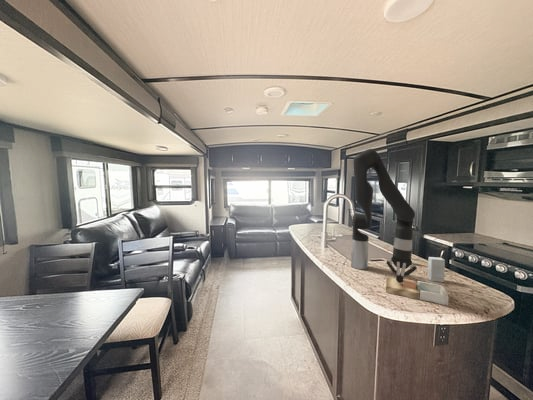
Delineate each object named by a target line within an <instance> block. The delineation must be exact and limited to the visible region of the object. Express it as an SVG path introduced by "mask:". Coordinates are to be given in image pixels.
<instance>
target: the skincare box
mask: <svg viewBox="0 0 533 400" xmlns="http://www.w3.org/2000/svg"><path fill="white" fill-rule="evenodd" d="M427 263H428V264H427V265H428V266H427V279H429V280H430V281H431V282H439V283H444V282H445V271H446V269H445V268H446V265H445V264H446V260H445V259H444V258H442V257H439V256H437V257H435V256H428V262H427Z"/></svg>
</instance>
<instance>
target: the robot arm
mask: <svg viewBox="0 0 533 400" xmlns="http://www.w3.org/2000/svg"><path fill="white" fill-rule="evenodd" d="M370 169H373V170H374V172H375V173H376V175H377V181H378V187H379V191H380V194H381V195H382V197H383V198H384V199H385V201H386V202H387V204H388V205H390V207H391V209H392V210H393V212H394V214H395V216H396V227H395V230H394V231H395V233H394V240H393V249H392V250H393V251H392V257H391V259H389V260H386V261H385V263H386V265H387V266H388V267H389V269H390V270H391V272H392V273H393V274H395V275H396V278H395V279H396V281H398V283H401V282H403V279H404V278H405V277H408V276H409V275H412V273H414V272H415V271H416V270H417V266H416V265H414V263H413V262H412V255H413V254H412V252H413V233H414V229H413V223H414V219H415V217H416V216H415V215H416V212H415V209H413V208H412V206H411V205H410V204H409V202H407V200H406V199H405V198H404V196H403V194H402V193H401V191H400V190H399V188H398V187H397V186H396V184H395V183H394V182H393V180H392V178H391V176H390V174H389V171H388V170H387V168H386V166H385V165H384V162H383V160H382V158H381V156H380V154H379V153H378V152H377V150H375V149H373V148H368V149H366V150H364V151H362V152H360V153H357V154H356V155H355V156H354V158H353V172H354V183H355V186H354V187H355V188H354V200H355V203H357V204H358V206H359V207H360V208H361V209H362V210H363V212H364V213H354V214H353V215H352V220H351V221H352V222H351V223H352V240H351V243H352V244H351V253H350V255H351V257H350V267H351V268H354V269H357V270H367V269H368V266H369V265H368V264H369V236H368V234H366V233H364V232H361V231H360V230H370V229H371V228H372V224H373V223H372V221H373V219H372V218H373V217H372V216H373V214H372V213H373V212H372V211H373V199H374V187H373V186H372V184H371V183H370V182H369V181H368V171H369V170H370ZM393 265H394V266H393ZM395 268H396V269H395ZM408 268H409V269H408Z"/></svg>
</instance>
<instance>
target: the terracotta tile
mask: <svg viewBox="0 0 533 400" xmlns="http://www.w3.org/2000/svg"><path fill="white" fill-rule="evenodd" d="M415 282H416V281H415V280H411V279H406V278H403V282H402V283H403V287H407V288H412V289H416V283H417V282H416V283H415Z"/></svg>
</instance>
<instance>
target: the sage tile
mask: <svg viewBox="0 0 533 400" xmlns="http://www.w3.org/2000/svg"><path fill="white" fill-rule="evenodd" d="M416 283H417V282H416ZM416 287H417V289H418V290H419V291H420V290H422V291H427V292H430V291H429V289H427V288H426V287H425V286H424V285H423V284H421V283H420V282H418V283H417V284H416Z"/></svg>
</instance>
